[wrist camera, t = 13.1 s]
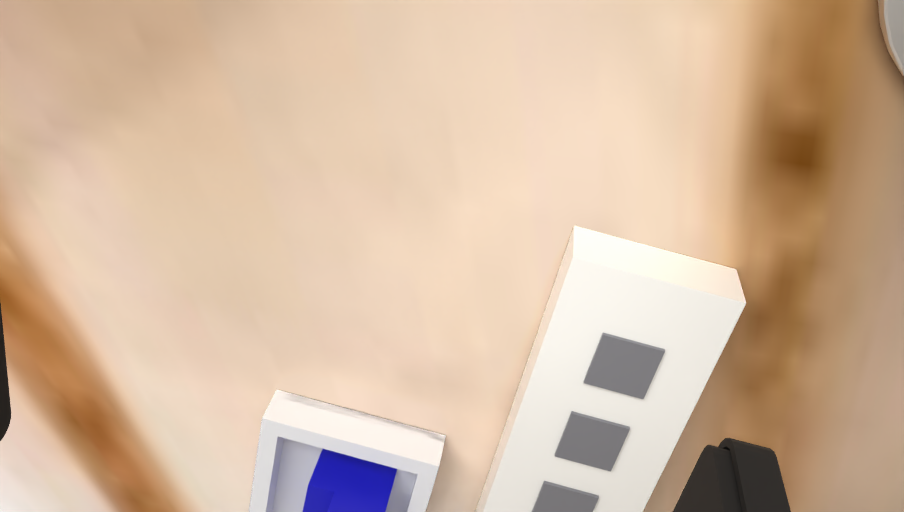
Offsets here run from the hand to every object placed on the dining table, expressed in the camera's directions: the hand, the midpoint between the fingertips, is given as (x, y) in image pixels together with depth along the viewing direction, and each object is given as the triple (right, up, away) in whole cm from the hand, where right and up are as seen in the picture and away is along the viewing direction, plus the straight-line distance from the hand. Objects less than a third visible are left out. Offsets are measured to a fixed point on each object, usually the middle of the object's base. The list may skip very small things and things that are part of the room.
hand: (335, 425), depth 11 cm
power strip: (+9, -7, +35) cm, 37 cm away
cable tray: (-6, -14, +42) cm, 44 cm away
